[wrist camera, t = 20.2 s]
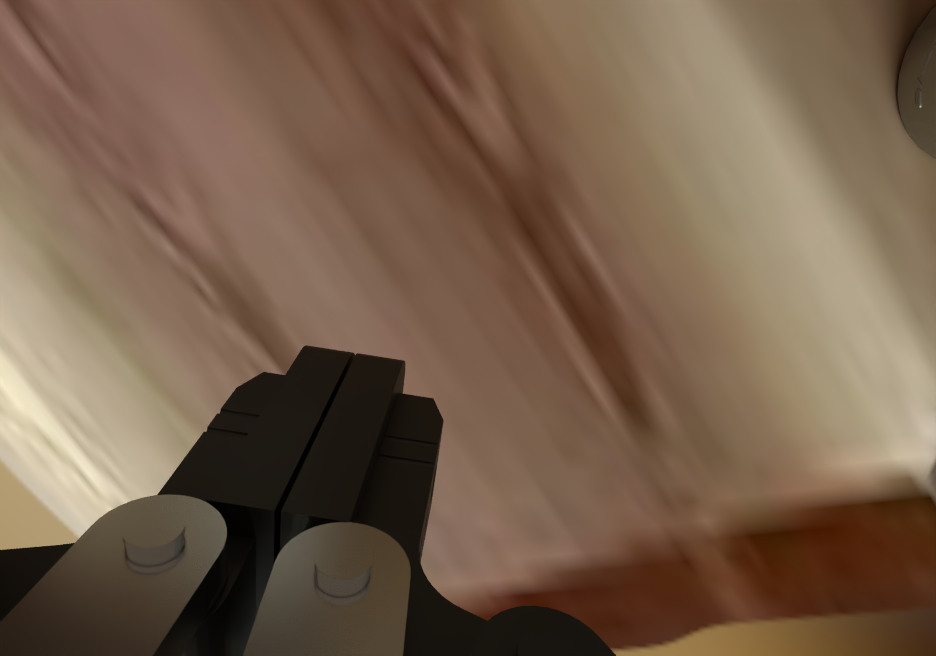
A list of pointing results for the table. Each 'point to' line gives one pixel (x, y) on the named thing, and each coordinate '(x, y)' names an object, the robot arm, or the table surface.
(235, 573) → the robot arm
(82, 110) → the table surface
